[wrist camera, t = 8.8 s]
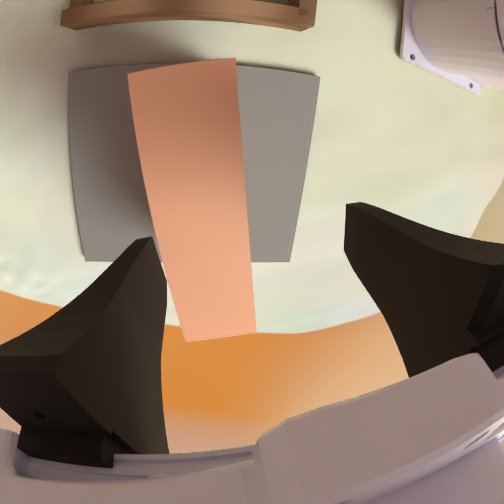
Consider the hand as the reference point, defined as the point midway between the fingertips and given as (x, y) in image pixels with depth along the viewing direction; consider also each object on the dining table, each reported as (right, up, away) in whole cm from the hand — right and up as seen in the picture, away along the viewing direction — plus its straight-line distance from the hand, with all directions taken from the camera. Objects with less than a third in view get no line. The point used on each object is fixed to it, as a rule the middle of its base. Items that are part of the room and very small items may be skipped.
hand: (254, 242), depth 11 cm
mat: (-4, +5, +8) cm, 11 cm away
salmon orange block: (-3, +5, +8) cm, 10 cm away
